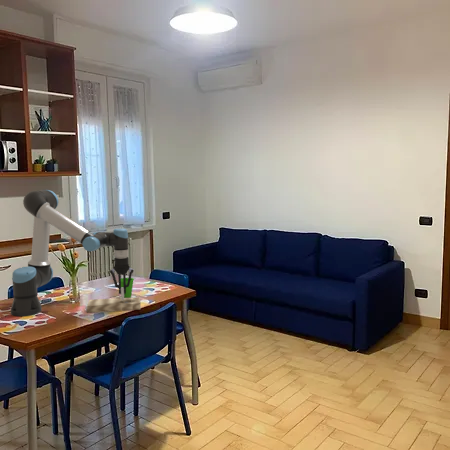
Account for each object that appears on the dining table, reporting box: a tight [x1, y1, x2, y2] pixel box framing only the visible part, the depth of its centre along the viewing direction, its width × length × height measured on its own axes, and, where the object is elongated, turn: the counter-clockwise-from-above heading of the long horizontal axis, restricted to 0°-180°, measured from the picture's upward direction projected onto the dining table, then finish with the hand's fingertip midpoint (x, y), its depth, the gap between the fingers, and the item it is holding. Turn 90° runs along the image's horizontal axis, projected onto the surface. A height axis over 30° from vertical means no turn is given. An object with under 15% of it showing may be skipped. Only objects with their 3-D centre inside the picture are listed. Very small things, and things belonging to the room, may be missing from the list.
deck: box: [86, 296, 142, 313], centre depth 255 cm, size 28×12×4 cm, turn 100°
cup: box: [121, 277, 135, 298], centre depth 275 cm, size 9×9×11 cm
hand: (122, 299), depth 255 cm, fingers closed
